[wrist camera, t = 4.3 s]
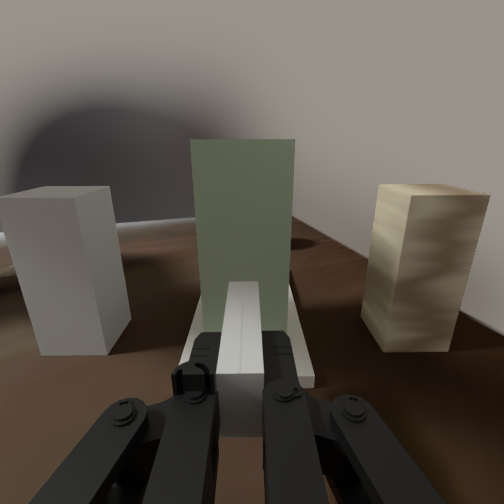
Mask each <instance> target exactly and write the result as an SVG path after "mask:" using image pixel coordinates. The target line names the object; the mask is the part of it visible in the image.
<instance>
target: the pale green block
mask: <svg viewBox="0 0 504 504" xmlns="http://www.w3.org/2000/svg"><path fill="white" fill-rule="evenodd" d="M190 145H191V159H192V160H191V161H192V174H193V188H194V203H195V217H196V231H197V245H198V259H199V273H200V287H201V301H202V315H203V329H204V332H222V328H223V321H224V314H225V307H226V300H227V293H228V286H229V282H233V281H258V287H259V303H260V319H261V331H278V330H284V332H285V333H286V334H287V318H288V294H289V271H290V247H291V224H292V200H293V177H294V176H293V175H294V153H295V139H273V140H272V139H267V140H266V139H260V140H259V139H254V140H253V139H251V140H248V139H247V140H190Z"/></svg>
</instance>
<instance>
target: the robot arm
mask: <svg viewBox="0 0 504 504" xmlns="http://www.w3.org/2000/svg"><path fill="white" fill-rule="evenodd" d="M171 378H172V386H173V394H174V396H173V397H171V398H169V399H168V400H166V401H163V402H161V403H157V404H154V405H150V406H146V405H145V403H144V402H143V401H142V400H140V399H137V398H127V399H123V400H119V401H118V402H116V403H114V404H112V405H111V406H110V407H109V408H107V409H106V410H105V411H104V412H103V414H102V415H101V416H100V417H99V418H98V420H97V421H96V422H95V423H94V425H93V426H92V427H91V428H90V429H89V431H88V432H87V433H86V434H85V435H84V437H83V438H82V439H81V440H80V442H79V443H78V444H77V445H76V446H75V448H74V449H73V450H72V451H71V453H70V454H69V455H68V456H67V457H66V459H65V460H64V461H63V462H62V464H61V465H60V466H59V467H58V468H57V470H56V471H55V472H54V473H53V474H52V476H51V477H50V478H49V479H48V481H47V482H46V483H45V484H44V485H43V487H42V488H41V489H40V490H39V492H38V493H37V494H36V495H35V496H34V498H33V499H32V500H31V501H30V502H29V504H214V501H215V490H216V480H217V469H218V458H219V447H218V440H219V433H220V437H263V469H264V488H265V504H329V502H328V497H327V492H326V488H325V483H324V479H323V474H324V475H325V476H326V479H327V481H328V483H329V486H330V488H331V490H332V492H333V494H334V496H335V499H336V501H337V503H338V504H446V503H445V501H444V500H443V499H442V497H441V496H440V495H439V493H438V492H437V491H436V489H435V488H434V487H433V485H432V484H431V483H430V482H429V480H428V479H427V478H426V476H425V475H424V474H423V472H422V471H421V470H420V468H419V467H418V466H417V464H416V463H415V462H414V460H413V459H412V458H411V457H410V455H409V454H408V453H407V451H406V450H405V449H404V447H403V446H402V445H401V443H400V442H399V441H398V439H397V438H396V437H395V435H394V434H393V433H392V431H391V430H390V429H389V428H388V426H387V425H386V424H385V422H384V421H383V420H382V418H381V417H380V416H379V414H378V413H377V412H376V410H375V409H374V408H373V407H372V406H371V405H370V404H369V403H368V402H367V401H366V400H364V399H362V398H360V397H359V396H355V395H351V394H345V395H340V396H338V397H335V399H334V400H333V401H332V402H331V403H330V402H326V401H322V400H319V399H316V398H314V397H312V396H310V395H308V394H307V393H306V392H305V391H304V390H303V388H302V387H301V386H300V383H299V379H298V375H297V370H296V365H295V360H294V355H293V350H292V346H291V341H290V337H289V336H288V335H287V334H286V333H285V332H284V330H278V331H261V319H260V303H259V287H258V281H233V282H229V286H228V293H227V300H226V307H225V314H224V321H223V328H222V332H201V333H200V334H199V335H198V336H197V337H196V339H195V340H194V343H193V347H192V350H191V354H190V358H189V361H187V362H185V363H182V364H180V365H179V366H178V367H176V368H175V369H174V371H173V372H172V374H171Z"/></svg>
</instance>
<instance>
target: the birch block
mask: <svg viewBox="0 0 504 504" xmlns="http://www.w3.org/2000/svg"><path fill="white" fill-rule="evenodd" d="M489 199H490V195H488V194H484V193H480V192H475V191H470V190H466V189H462V188H458V187H453V186H449V185H444V184H384V185H383V184H380V185H379V189H378V196H377V203H376V210H375V217H374V224H373V232H372V239H371V246H370V254H369V260H368V267H367V274H366V281H365V288H364V296H363V303H362V310H361V318H362V320H363V321H364V323H365V324H366V326H367V328H368V329H369V331H370V332H371V334H372V335H373V337H374V339H375V340H376V342H377V343H378V345H379V347H380V348H381V350H382V351H383V352H448V350H449V346H450V343H451V339H452V335H453V332H454V328H455V324H456V321H457V317H458V313H459V309H460V306H461V302H462V298H463V295H464V291H465V287H466V284H467V280H468V276H469V272H470V269H471V265H472V261H473V258H474V254H475V250H476V246H477V243H478V239H479V235H480V232H481V228H482V225H483V221H484V217H485V213H486V210H487V206H488V202H489Z"/></svg>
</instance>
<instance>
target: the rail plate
mask: <svg viewBox="0 0 504 504" xmlns="http://www.w3.org/2000/svg"><path fill="white" fill-rule="evenodd" d="M201 332H204V329H203V315H202V301H201V296H200V299H199V302H198V305H197V309H196V312H195V315H194V318H193V321H192V325H191V328H190V331H189V334H188V337H187V341H186V344H185V347H184V350H183V353H182V357H181V360H180V363H179V365H180V364H182V363H185V362H187V361H189V358H190V354H191V350H192V347H193V343H194V340H195V339H196V337H197V336H198V335H199V334H200V333H201ZM287 335H288V336H289V337H290V341H291V346H292V350H293V355H294V360H295V365H296V370H297V375H298V379H299V383H300V386H301V387H302V388H314V381H315V375H314V371H313V367H312V364H311V360H310V357H309V353H308V349H307V346H306V342H305V339H304V335H303V332H302V328H301V324H300V321H299V317H298V314H297V310H296V306H295V303H294V299H293V296H292V292H291V289H290V285H289V294H288V318H287Z"/></svg>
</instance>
